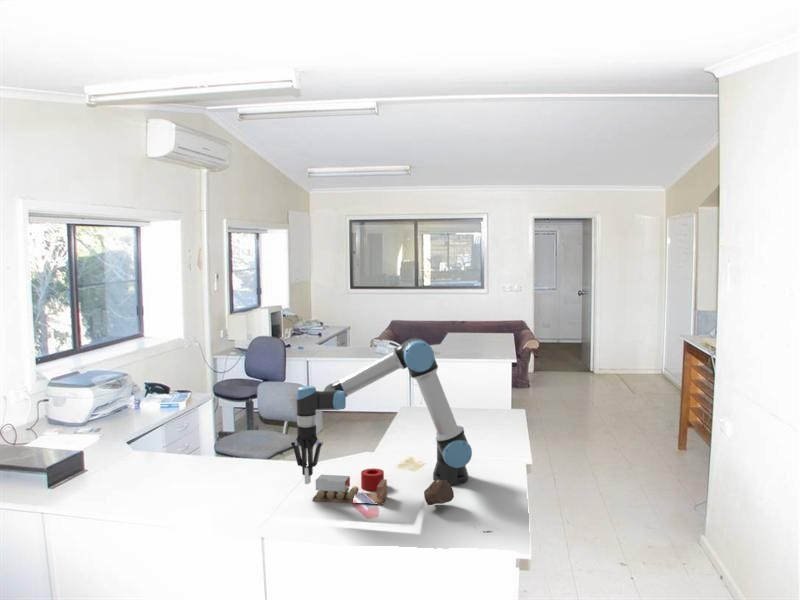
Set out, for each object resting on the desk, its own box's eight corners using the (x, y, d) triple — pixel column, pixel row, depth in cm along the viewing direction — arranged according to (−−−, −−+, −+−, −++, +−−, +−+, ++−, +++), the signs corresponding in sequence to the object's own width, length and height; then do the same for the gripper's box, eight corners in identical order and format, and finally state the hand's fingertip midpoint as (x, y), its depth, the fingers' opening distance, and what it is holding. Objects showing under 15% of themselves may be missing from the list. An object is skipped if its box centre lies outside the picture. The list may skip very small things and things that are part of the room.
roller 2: (341, 492, 249) (341, 484, 249) (349, 492, 248) (349, 485, 248) (336, 499, 241) (336, 491, 241) (343, 499, 241) (343, 492, 240)
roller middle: (332, 491, 250) (332, 484, 250) (339, 492, 249) (339, 484, 249) (326, 498, 242) (326, 491, 242) (333, 499, 241) (333, 491, 241)
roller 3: (356, 485, 248) (359, 491, 248) (350, 487, 248) (353, 493, 248) (351, 492, 240) (354, 498, 240) (345, 494, 240) (348, 501, 240)
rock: (440, 512, 229) (440, 486, 229) (416, 507, 235) (416, 481, 234) (455, 502, 240) (455, 476, 239) (432, 497, 245) (432, 472, 245)
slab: (349, 485, 248) (349, 476, 248) (345, 492, 241) (344, 481, 241) (321, 484, 250) (321, 474, 250) (315, 490, 243) (315, 480, 243)
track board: (386, 496, 246) (386, 479, 246) (382, 505, 237) (381, 487, 237) (319, 492, 251) (319, 475, 251) (312, 500, 242) (312, 483, 242)
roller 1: (322, 491, 250) (322, 483, 250) (330, 491, 250) (329, 484, 250) (316, 498, 243) (316, 490, 242) (324, 498, 242) (323, 491, 242)
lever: (386, 490, 254) (386, 474, 254) (364, 492, 251) (364, 476, 251) (374, 476, 271) (374, 461, 271) (354, 478, 268) (354, 463, 268)
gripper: (325, 423, 249) (326, 480, 250) (294, 422, 251) (295, 479, 252) (319, 428, 241) (320, 487, 242) (287, 426, 244) (288, 485, 245)
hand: (307, 483), depth 247 cm, fingers closed
